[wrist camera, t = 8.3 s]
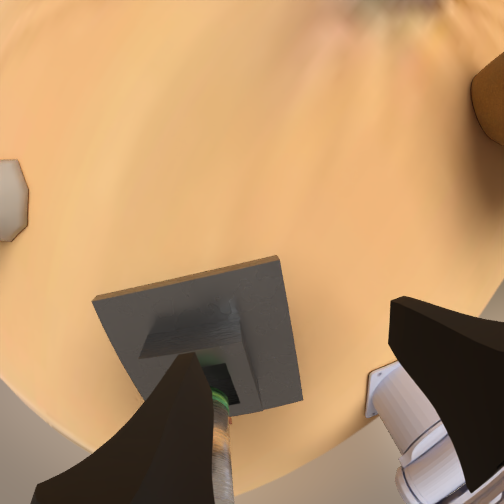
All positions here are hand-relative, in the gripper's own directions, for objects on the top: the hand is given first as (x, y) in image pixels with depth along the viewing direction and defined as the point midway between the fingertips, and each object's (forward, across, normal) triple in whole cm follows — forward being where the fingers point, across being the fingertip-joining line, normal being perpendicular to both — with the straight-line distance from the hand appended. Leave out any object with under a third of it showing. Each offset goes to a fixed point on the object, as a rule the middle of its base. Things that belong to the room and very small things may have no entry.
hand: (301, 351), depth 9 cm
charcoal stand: (+10, +6, +7) cm, 14 cm away
